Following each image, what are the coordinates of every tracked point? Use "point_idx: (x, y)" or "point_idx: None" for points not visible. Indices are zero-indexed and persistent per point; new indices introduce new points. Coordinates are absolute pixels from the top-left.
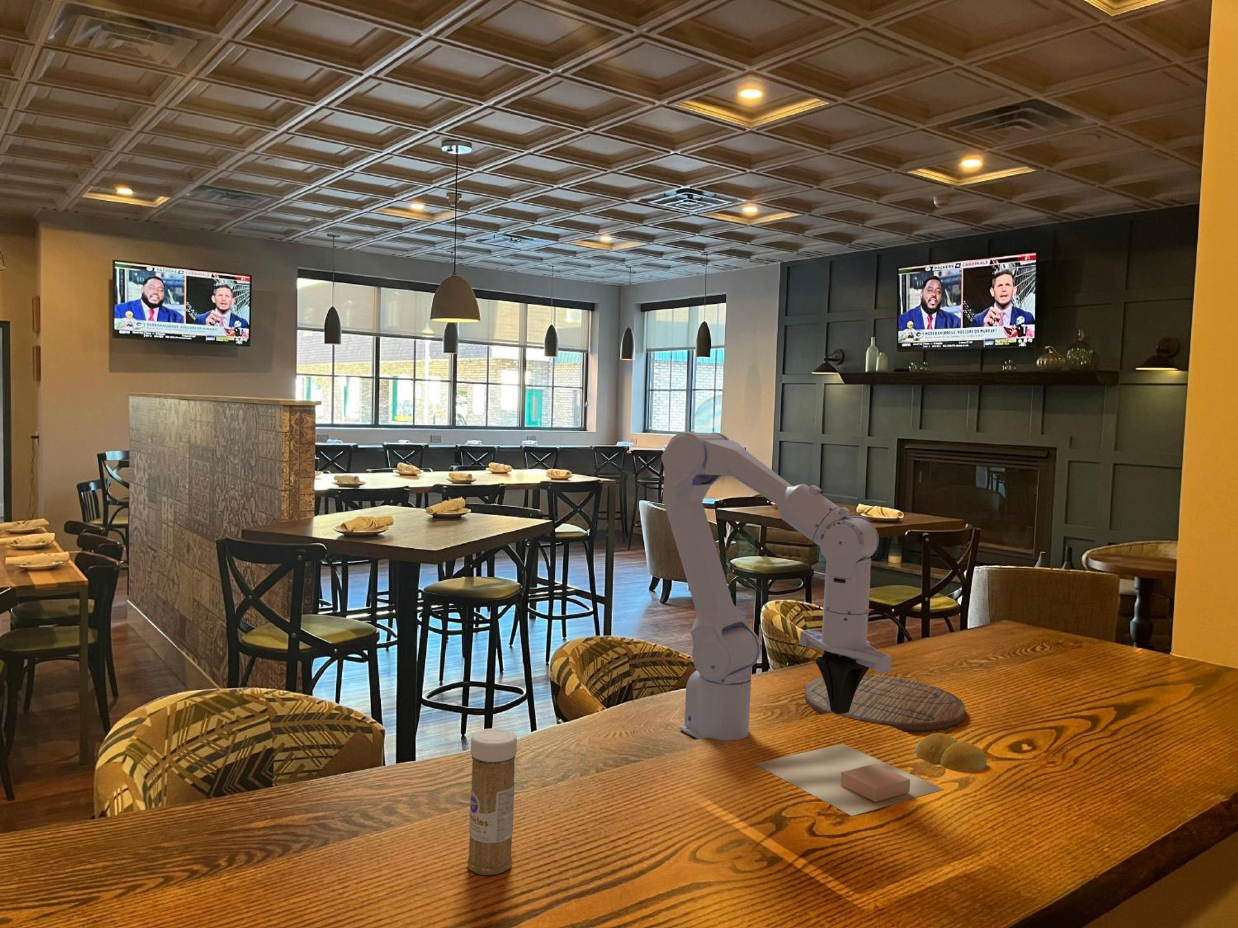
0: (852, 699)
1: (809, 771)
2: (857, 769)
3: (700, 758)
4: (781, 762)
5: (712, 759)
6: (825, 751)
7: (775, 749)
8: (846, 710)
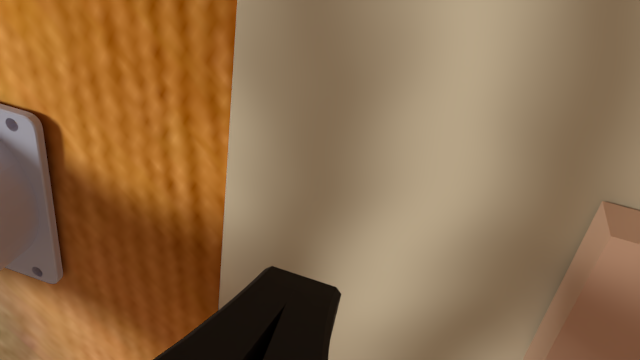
0: (326, 356)
1: (363, 307)
2: (566, 343)
3: (91, 341)
4: None
5: (108, 329)
6: (268, 87)
7: (117, 137)
8: (332, 324)
